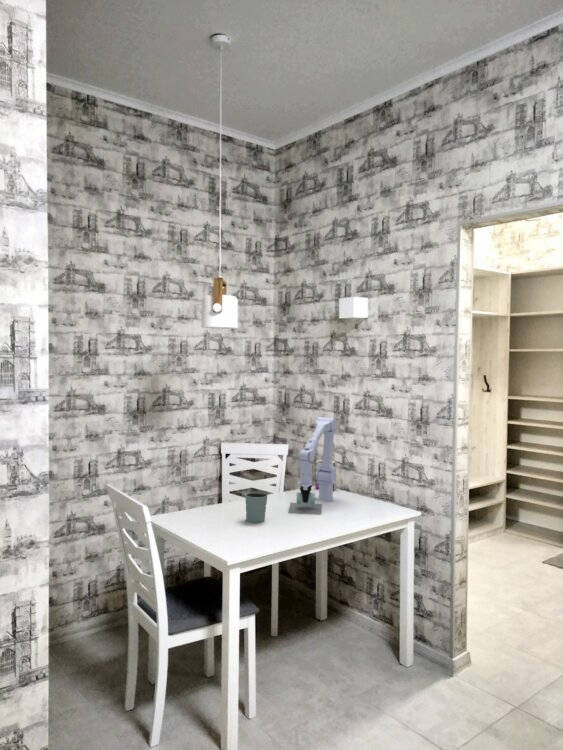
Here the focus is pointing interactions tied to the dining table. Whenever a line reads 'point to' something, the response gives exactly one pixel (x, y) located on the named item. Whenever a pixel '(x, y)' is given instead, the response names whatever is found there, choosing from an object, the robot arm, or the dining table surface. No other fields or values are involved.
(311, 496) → the teal plug
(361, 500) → the dining table surface
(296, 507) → the charcoal mat
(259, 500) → the teal cup
